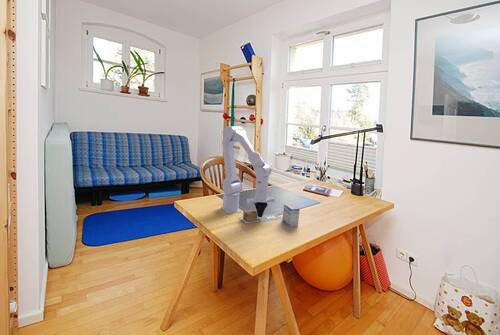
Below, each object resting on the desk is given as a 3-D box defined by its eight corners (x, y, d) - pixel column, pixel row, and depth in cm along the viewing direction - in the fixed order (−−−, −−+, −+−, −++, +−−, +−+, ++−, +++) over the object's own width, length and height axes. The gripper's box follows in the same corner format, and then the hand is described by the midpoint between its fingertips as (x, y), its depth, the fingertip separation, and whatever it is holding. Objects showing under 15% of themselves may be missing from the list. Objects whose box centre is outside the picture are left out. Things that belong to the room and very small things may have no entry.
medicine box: (282, 221, 134) (283, 204, 132) (290, 220, 136) (291, 203, 134) (289, 227, 127) (291, 209, 125) (298, 226, 128) (299, 208, 127)
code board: (237, 218, 133) (237, 218, 133) (274, 214, 143) (274, 213, 143) (244, 224, 126) (244, 224, 126) (282, 219, 136) (282, 219, 136)
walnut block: (243, 218, 133) (243, 210, 132) (252, 217, 135) (252, 209, 135) (247, 222, 129) (248, 214, 128) (257, 221, 131) (257, 213, 130)
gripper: (251, 193, 125) (250, 221, 127) (278, 191, 131) (276, 217, 134) (245, 189, 131) (243, 216, 134) (271, 187, 138) (269, 213, 140)
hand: (259, 216), depth 134 cm, fingers closed
